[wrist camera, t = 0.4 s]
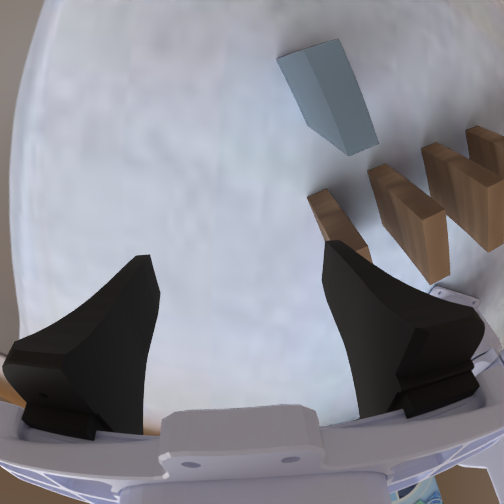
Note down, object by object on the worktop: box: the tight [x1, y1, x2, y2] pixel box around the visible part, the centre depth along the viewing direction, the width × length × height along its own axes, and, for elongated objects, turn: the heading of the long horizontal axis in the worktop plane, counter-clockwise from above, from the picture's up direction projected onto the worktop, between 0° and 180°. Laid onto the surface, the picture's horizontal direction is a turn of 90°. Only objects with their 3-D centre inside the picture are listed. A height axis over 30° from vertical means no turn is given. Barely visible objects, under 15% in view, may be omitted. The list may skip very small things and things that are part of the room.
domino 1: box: [307, 189, 373, 264], centre depth 20 cm, size 2×5×8 cm, turn 26°
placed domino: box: [276, 39, 379, 156], centre depth 15 cm, size 2×5×8 cm, turn 26°
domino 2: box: [367, 164, 450, 285], centre depth 19 cm, size 2×5×8 cm, turn 26°
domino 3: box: [421, 142, 504, 253], centre depth 18 cm, size 2×5×8 cm, turn 26°
